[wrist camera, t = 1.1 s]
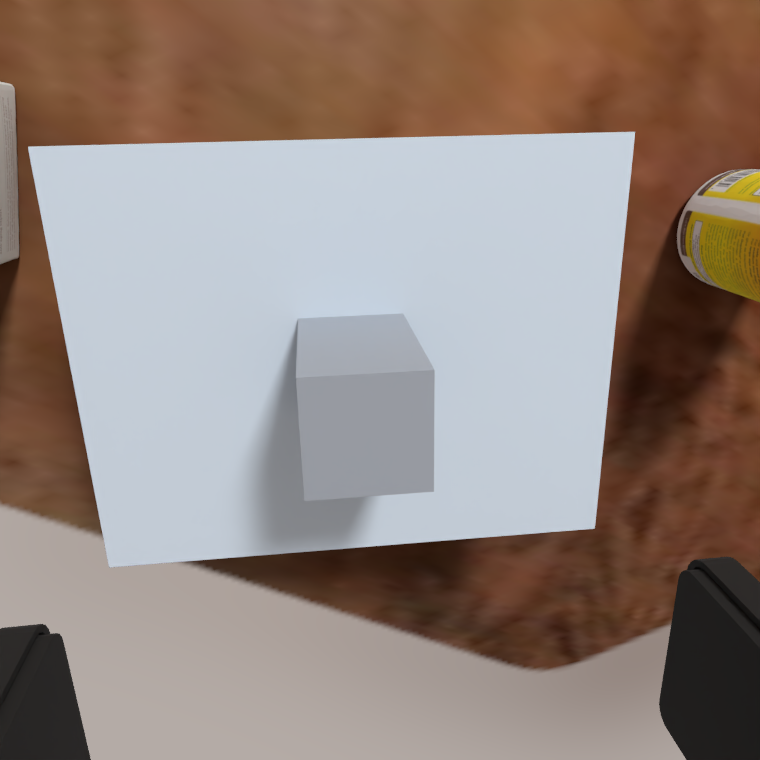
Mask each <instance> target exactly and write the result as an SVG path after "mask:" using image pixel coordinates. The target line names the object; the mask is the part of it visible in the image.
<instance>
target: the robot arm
mask: <svg viewBox="0 0 760 760" xmlns="http://www.w3.org/2000/svg"><path fill="white" fill-rule="evenodd" d="M659 705H660V712H661V716H662V719H663V722H664V724H665V726H666V728H667V729H668V731H669V733H670V734H671V736H672V737H673V739H674V741H675V742H676V744H677V745H678V747H679V748H680V750H681V752H682V753H683V755H684V756H685V758H686V760H760V582H759V581H758V580H757V579H756V578H754V577H753V576H752V575H751V574H750V573H749V572H748V571H747V570H746V569H745V568H744V567H743V566H742V565H741V564H740V563H739V562H738V561H736V560H735V559H733V558H731V557H720V558H709V559H699V560H694V561H692V562H691V563H690V564H689V566H688V569H687V570H685V571H682V572H681V574H680V576H679V580H678V586H677V592H676V599H675V605H674V611H673V618H672V624H671V631H670V637H669V643H668V650H667V656H666V663H665V669H664V675H663V682H662V688H661V694H660V703H659ZM0 760H91V759H90V755H89V750H88V746H87V742H86V737H85V733H84V729H83V725H82V720H81V716H80V712H79V707H78V703H77V699H76V694H75V690H74V686H73V682H72V677H71V673H70V669H69V664H68V660H67V655H66V651H65V647H64V643H63V639H62V637H61V636H60V634H57V633H55V634H50V632H49V629H48V628H47V626H46V625H43V624H38V625H28V626H18V627H8V628H1V629H0Z"/></svg>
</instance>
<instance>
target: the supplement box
mask: <svg viewBox="0 0 760 760" xmlns="http://www.w3.org/2000/svg"><path fill="white" fill-rule="evenodd" d="M18 220H19V219H18V183H17V136H16V105H15V89H14V87H13V86H12V85H11V84H8V83H4V82H0V265H1V264H3V263H5V262H8V261H10V260H13V259H17V258H18V257H19V224H18Z"/></svg>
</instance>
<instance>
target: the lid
mask: <svg viewBox="0 0 760 760" xmlns="http://www.w3.org/2000/svg"><path fill="white" fill-rule="evenodd" d="M634 138H635V132H606V133H565V134H524V135H484V136H443V137H402V138H362V139H321V140H280V141H239V142H199V143H158V144H117V145H77V146H37V147H28V150H29V155H30V160H31V166H32V171H33V176H34V181H35V186H36V191H37V197H38V202H39V207H40V212H41V217H42V223H43V228H44V233H45V238H46V243H47V248H48V254H49V259H50V264H51V269H52V274H53V279H54V285H55V290H56V295H57V300H58V305H59V311H60V316H61V321H62V326H63V331H64V336H65V342H66V347H67V352H68V357H69V362H70V368H71V373H72V378H73V383H74V388H75V393H76V399H77V404H78V409H79V414H80V419H81V425H82V430H83V435H84V440H85V445H86V450H87V456H88V461H89V466H90V471H91V476H92V482H93V487H94V492H95V497H96V502H97V507H98V513H99V518H100V523H101V528H102V533H103V539H104V543H105V549H106V554H107V559H108V564H109V568H110V567H122V566H135V565H147V564H160V563H172V562H185V561H197V560H210V559H222V558H234V557H247V556H259V555H272V554H284V553H297V552H309V551H321V550H334V549H346V548H359V547H371V546H384V545H396V544H408V543H421V542H433V541H446V540H458V539H471V538H483V537H495V536H508V535H520V534H533V533H545V532H558V531H570V530H582V529H595V521H596V511H597V501H598V491H599V482H600V472H601V462H602V452H603V442H604V433H605V423H606V413H607V403H608V393H609V384H610V374H611V364H612V354H613V344H614V334H615V325H616V315H617V305H618V295H619V285H620V276H621V266H622V256H623V246H624V236H625V227H626V217H627V207H628V197H629V187H630V178H631V168H632V158H633V148H634Z"/></svg>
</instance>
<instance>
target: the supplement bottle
mask: <svg viewBox="0 0 760 760" xmlns="http://www.w3.org/2000/svg"><path fill="white" fill-rule="evenodd" d="M677 246H678V252H679V255H680V257H681V260H682V262H683V264H684V265H685V267H686V268H687V270H688V271H689V272H690V273H691V274H692V275H694V276H695V277H696V278H698V279H699V280H701V281H703V282H705V283H707V284H710V285H712V286H715V287H718V288H721V289H724V290H727V291H729V292H732V293H735V294H738V295H741V296H744V297H747V298H749V299H752V300H755V301H758V302H760V170H757V169H739V170H732V171H728V172H725V173H722V174H720V175H718V176H716V177H714V178H712V179H711V180H709V181H708V182H706V183H705V184H704V185H702V186H701V187H700V188H699V189H698V190H697V191H696V192H695V193H694V194H693V196H692V197H691V198H690V200H689V201H688V203H687V204H686V206H685V208H684V210H683V212H682V215H681V218H680V221H679V224H678V230H677Z"/></svg>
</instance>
